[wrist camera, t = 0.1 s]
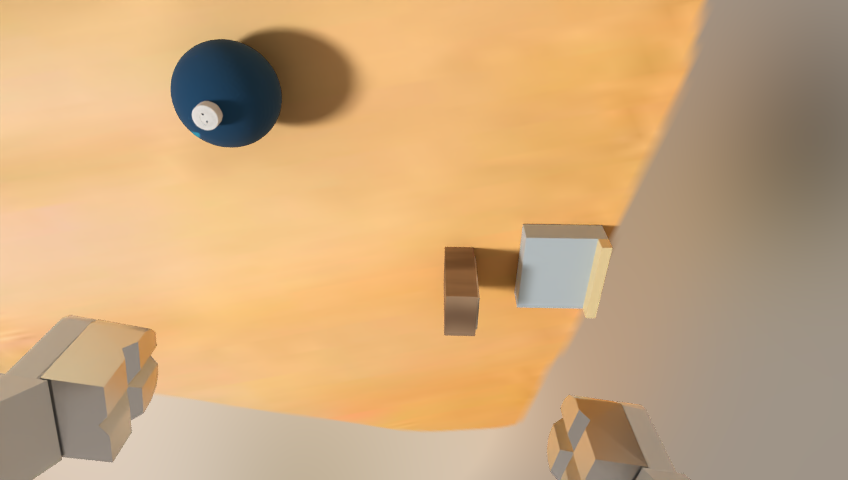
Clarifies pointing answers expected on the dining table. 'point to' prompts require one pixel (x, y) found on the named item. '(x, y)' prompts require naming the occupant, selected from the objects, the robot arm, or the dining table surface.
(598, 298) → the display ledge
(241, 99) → the christmas ornament
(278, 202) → the dining table surface
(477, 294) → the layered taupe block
